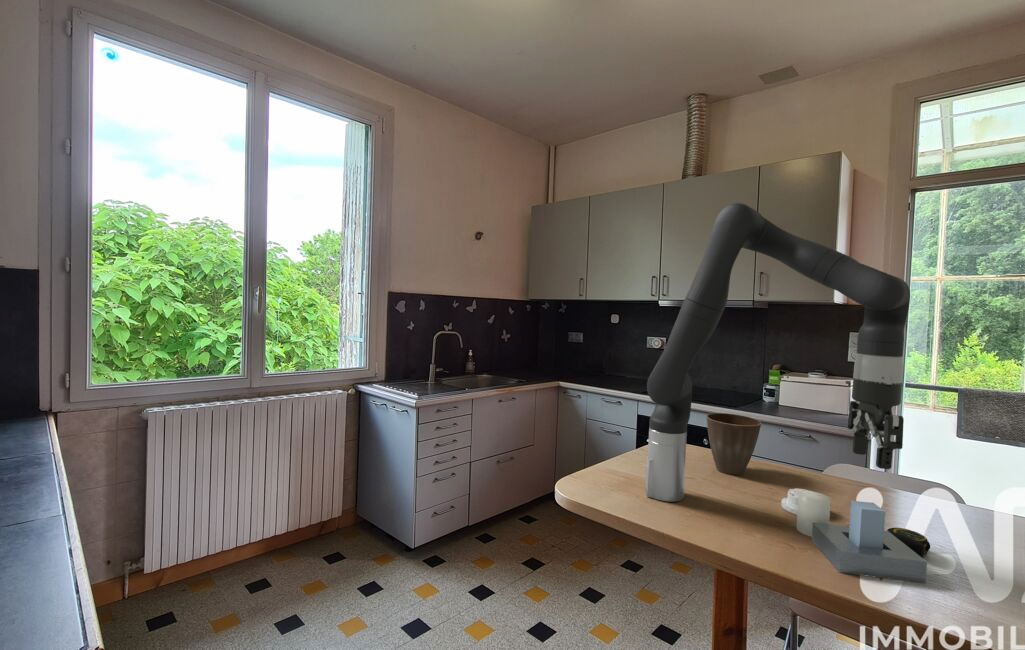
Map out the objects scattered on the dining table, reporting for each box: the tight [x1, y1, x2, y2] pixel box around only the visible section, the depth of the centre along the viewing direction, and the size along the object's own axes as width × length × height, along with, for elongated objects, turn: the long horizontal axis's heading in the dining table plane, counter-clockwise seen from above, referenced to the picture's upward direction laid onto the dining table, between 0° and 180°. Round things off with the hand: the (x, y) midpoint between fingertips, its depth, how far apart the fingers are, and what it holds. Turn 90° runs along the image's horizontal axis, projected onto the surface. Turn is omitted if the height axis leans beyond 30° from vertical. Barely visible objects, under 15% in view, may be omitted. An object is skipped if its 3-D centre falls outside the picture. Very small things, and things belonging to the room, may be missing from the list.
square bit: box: [848, 500, 886, 549], centre depth 92 cm, size 4×4×11 cm
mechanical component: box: [780, 487, 809, 516], centre depth 115 cm, size 10×4×10 cm
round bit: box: [795, 490, 832, 538], centre depth 104 cm, size 6×6×8 cm
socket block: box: [811, 523, 928, 584], centre depth 92 cm, size 14×12×4 cm
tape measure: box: [886, 527, 931, 559], centre depth 96 cm, size 7×7×4 cm
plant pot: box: [706, 412, 762, 476], centre depth 141 cm, size 15×15×16 cm
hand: (870, 460), depth 91 cm, fingers open, 8 cm apart
